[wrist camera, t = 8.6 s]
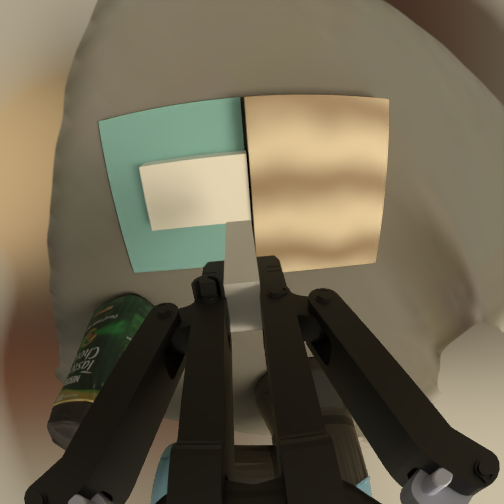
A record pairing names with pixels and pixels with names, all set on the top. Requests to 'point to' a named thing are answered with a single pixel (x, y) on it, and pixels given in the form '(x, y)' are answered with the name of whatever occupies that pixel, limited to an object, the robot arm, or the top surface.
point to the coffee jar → (95, 362)
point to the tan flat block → (317, 177)
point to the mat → (160, 148)
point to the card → (196, 190)
